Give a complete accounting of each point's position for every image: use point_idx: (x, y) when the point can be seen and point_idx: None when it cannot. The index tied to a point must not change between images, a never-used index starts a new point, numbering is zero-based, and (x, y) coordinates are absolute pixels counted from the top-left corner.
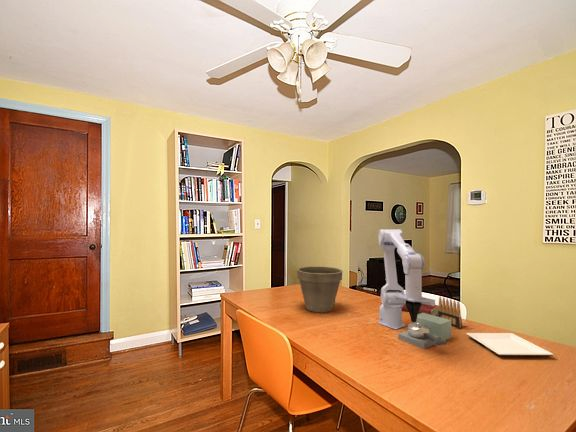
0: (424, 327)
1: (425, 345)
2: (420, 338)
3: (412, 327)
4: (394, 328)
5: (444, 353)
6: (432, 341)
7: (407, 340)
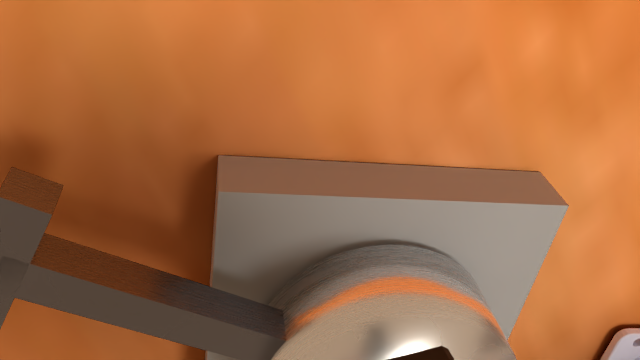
0: None
1: (216, 194)
2: None
3: None
4: (633, 331)
5: None
6: None
7: (435, 178)
